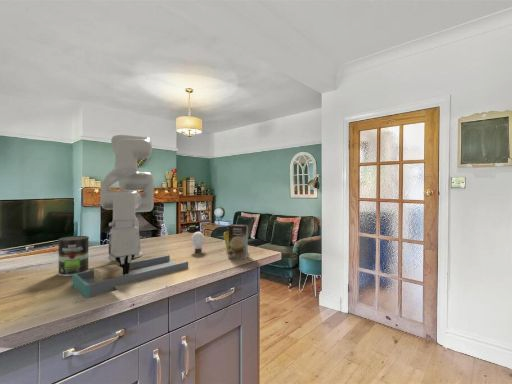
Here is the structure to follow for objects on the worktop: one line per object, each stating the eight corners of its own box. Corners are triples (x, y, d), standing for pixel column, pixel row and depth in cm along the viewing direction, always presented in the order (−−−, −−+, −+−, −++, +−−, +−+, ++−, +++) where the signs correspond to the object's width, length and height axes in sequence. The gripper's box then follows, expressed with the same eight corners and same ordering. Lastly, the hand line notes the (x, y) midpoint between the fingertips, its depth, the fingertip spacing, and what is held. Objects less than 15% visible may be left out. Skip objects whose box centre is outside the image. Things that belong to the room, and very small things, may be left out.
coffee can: (87, 274, 107) (87, 239, 107) (55, 278, 102) (55, 241, 102) (90, 267, 116) (89, 234, 116) (61, 270, 111) (60, 236, 111)
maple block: (114, 276, 100) (114, 264, 100) (122, 280, 95) (122, 267, 95) (93, 281, 95) (93, 268, 94) (101, 285, 90) (101, 272, 90)
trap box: (168, 263, 122) (168, 254, 122) (188, 271, 111) (188, 261, 111) (72, 285, 95) (72, 274, 94) (86, 298, 84) (86, 285, 84)
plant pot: (234, 253, 141) (235, 235, 141) (219, 251, 146) (219, 233, 146) (246, 249, 150) (246, 232, 149) (231, 247, 155) (231, 230, 155)
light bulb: (203, 253, 140) (203, 232, 140) (190, 253, 140) (190, 232, 140) (205, 250, 147) (205, 230, 147) (192, 250, 147) (192, 230, 146)
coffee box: (227, 258, 131) (227, 225, 131) (230, 255, 137) (230, 224, 137) (246, 259, 130) (246, 226, 130) (248, 255, 136) (248, 224, 136)
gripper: (106, 227, 91) (106, 281, 92) (148, 223, 102) (148, 271, 103) (98, 225, 96) (98, 276, 97) (139, 221, 107) (140, 267, 108)
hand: (124, 273), depth 100 cm, fingers closed
